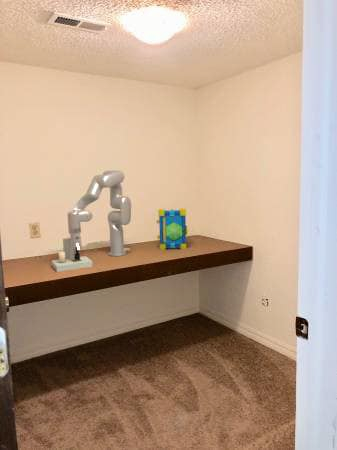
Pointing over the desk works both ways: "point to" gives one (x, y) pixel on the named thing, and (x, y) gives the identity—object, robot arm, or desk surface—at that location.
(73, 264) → the board
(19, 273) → the desk surface
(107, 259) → the desk surface
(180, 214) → the decorative book
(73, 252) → the peg
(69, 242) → the skincare box
